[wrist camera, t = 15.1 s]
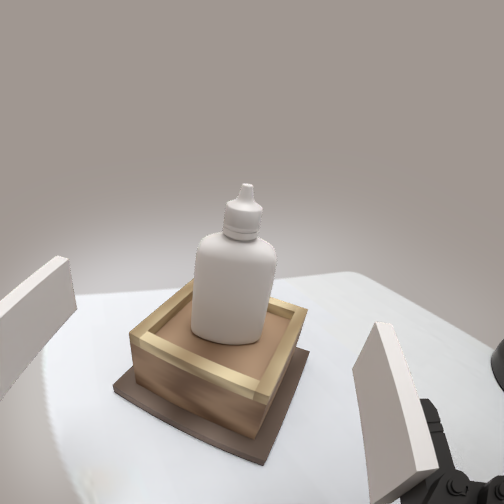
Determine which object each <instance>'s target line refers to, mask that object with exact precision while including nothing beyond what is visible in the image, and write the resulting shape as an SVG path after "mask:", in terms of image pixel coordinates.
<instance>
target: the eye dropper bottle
mask: <svg viewBox="0 0 504 504" xmlns="http://www.w3.org/2000/svg"><path fill="white" fill-rule="evenodd" d="M262 211H263V209H262V207H261V206H260V205H259V204H257V203H256V202H255V201H254V197H253V185H251V184H242V187H241V189H240V192H239V195H238V197H237V198H236V199H235V200H231V201H229V202H227V203H226V207H225V214H224V222H223V230H222V231H223V232H219V233H214V234H210V235H207V236H205V237H204V238H203V239H202V240H201V241H200V243H199V246H198V248H197V253H196V261H195V272H194V284H193V299H192V316H191V329H192V332H193V333H194V334H195V335H197V336H199V337H201V338H203V339H206V340H209V341H212V342H216V343H221V344H229V345H241V344H250V343H254V342H256V341H258V340H259V339H260V337H261V334H262V329H263V325H264V321H265V316H266V312H267V308H268V303H269V299H270V294H271V290H272V285H273V281H274V275H275V270H276V266H277V256H276V251H275V249H274V248H273V247H272V245H271V244H269V243H268V242H266V241H265V240H263V239H261V238H259V237H258V233H259V228H260V222H261V217H262Z"/></svg>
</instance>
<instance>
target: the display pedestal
mask: <svg viewBox="0 0 504 504" xmlns="http://www.w3.org/2000/svg"><path fill="white" fill-rule="evenodd" d="M193 284H194V278H193V279H192V280H191V281H190V282H189V283H188V284H186V285H185V286H184V287H183V288H181V289H180V290H179V291H178V292H177V293H175V294H174V295H173V296H172V297H171V298H169V299H168V300H167V301H166V302H165V303H163V304H162V305H161V306H160V307H159V308H157V309H156V310H155V311H154V312H153V313H151V314H150V315H149V316H148V317H147V318H146V319H144V320H143V321H142V322H141V323H140V324H138V325H137V326H136V327H135V328H134V329H133V330H131V331H130V332H129V338H130V346H131V353H132V360H133V366H132V367H131V368H130V369H129V370H128V371H127V372H126V373H125V374H124V375H123V376H122V377H121V378H119V379H118V380H117V381H116V382H115V383H114V384H113V388H114V392H115V393H117V394H119V395H120V396H122V397H123V398H125V399H126V400H128V401H130V402H131V403H133V404H135V405H136V406H138V407H140V408H141V409H143V410H145V411H146V412H148V413H150V414H152V415H153V416H155V417H157V418H159V419H161V420H162V421H164V422H166V423H168V424H170V425H172V426H174V427H175V428H177V429H179V430H181V431H183V432H185V433H187V434H189V435H191V436H193V437H195V438H198V439H200V440H202V441H204V442H206V443H208V444H210V445H213V446H215V447H217V448H219V449H222V450H224V451H226V452H229V453H231V454H234V455H236V456H239V457H241V458H244V459H246V460H249V461H251V462H254V463H257V464H260V465H262V466H263V465H264V463H265V461H266V459H267V457H268V455H269V453H270V450H271V448H272V446H273V444H274V441H275V439H276V437H277V434H278V432H279V430H280V427H281V425H282V422H283V420H284V418H285V415H286V413H287V410H288V408H289V405H290V403H291V400H292V398H293V395H294V393H295V390H296V387H297V385H298V382H299V379H300V377H301V374H302V371H303V369H304V366H305V363H306V360H307V358H308V355H309V352H310V351H307V350H304V349H301V348H298V347H296V345H297V342H298V339H299V336H300V333H301V330H302V326H303V323H304V320H305V317H306V314H307V311H308V309H305V308H302V307H299V306H296V305H293V304H290V303H287V302H284V301H281V300H278V299H275V298H272V297H270V299H269V303H268V308H267V312H266V316H265V321H264V325H263V329H262V334H261V337H260V339H259V340H258V341H256V342H254V343H250V344H241V345H229V344H221V343H216V342H212V341H209V340H206V339H203V338H201V337H199V336H197V335H195V334H194V333H193V332H192V329H191V316H192V299H193Z"/></svg>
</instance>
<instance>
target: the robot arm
mask: <svg viewBox="0 0 504 504" xmlns="http://www.w3.org/2000/svg"><path fill="white" fill-rule="evenodd" d="M70 271H71V270H70V264H69V259H68V258H64V257H60V256H55V257H54V258H53V259H52V260H50V261H49V262H48V263H46V264H45V265H44V266H42V267H41V268H40V269H39V270H37V271H36V272H35V273H34V274H32V275H31V276H30V277H29V278H27V279H26V280H25V281H24V282H22V283H21V284H20V285H19V286H18V287H16V288H15V289H14V290H13V291H12V292H10V293H9V294H8V295H7V296H6V297H5V298H3V299H2V300H1V301H0V401H1V400H2V398H3V397H4V396H5V394H6V393H7V392H8V391H9V389H10V388H11V387H12V385H13V384H14V383H15V382H16V380H17V379H18V378H19V376H20V375H21V374H22V373H23V371H24V370H25V369H26V368H27V366H28V365H29V364H30V363H31V361H32V360H33V359H34V358H35V357H36V355H37V354H38V353H39V352H40V351H41V350H42V348H43V347H44V346H45V345H46V344H47V342H48V341H49V340H50V339H51V338H52V337H53V335H54V334H55V333H56V332H57V331H58V330H59V329H60V328H61V326H62V325H63V324H64V323H65V322H66V321H67V320H68V319H69V317H70V316H71V315H72V314H73V313H74V312H75V311H76V310H77V306H76V300H75V295H74V289H73V283H72V277H71V272H70ZM492 368H493V371H494V374H495V376H496V378H497V380H498V382H499V384H500V385H501V387H502V388H503V390H504V339H503V340H502V342H501V343H500V344H499V345H498V347H497V349H496V350H495V352H494V353H493V355H492ZM352 371H353V376H354V382H355V388H356V394H357V400H358V406H359V413H360V419H361V426H362V434H363V441H364V449H365V457H366V466H367V475H368V485H369V496H370V504H390V503H392V502H394V501H395V500H397V499H398V498H400V501H401V504H504V476H496V477H494V478H493V479H492V480H490V481H489V482H488V483H483V482H474V481H470V480H469V478H468V477H467V475H465V474H464V473H463V472H462V471H459V470H456V469H455V467H454V464H453V460H452V457H451V453H450V450H449V446H448V443H447V440H446V436H445V433H443V431H444V430H443V427H442V424H440V418H439V415H438V412H437V409H436V408H435V407H434V405H433V404H432V403H431V401H430V400H429V399H419V396H418V393H417V390H416V387H415V384H414V382H413V379H412V376H411V373H410V370H409V367H408V365H407V362H406V359H405V356H404V354H403V351H402V349H401V346H400V343H399V341H398V338H397V336H396V333H395V331H394V328H393V326H392V324H391V323H383V322H376V321H375V323H374V325H373V327H372V330H371V332H370V334H369V336H368V338H367V340H366V342H365V344H364V347H363V349H362V351H361V353H360V355H359V357H358V359H357V361H356V363H355V364H354V366H353V368H352Z"/></svg>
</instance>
